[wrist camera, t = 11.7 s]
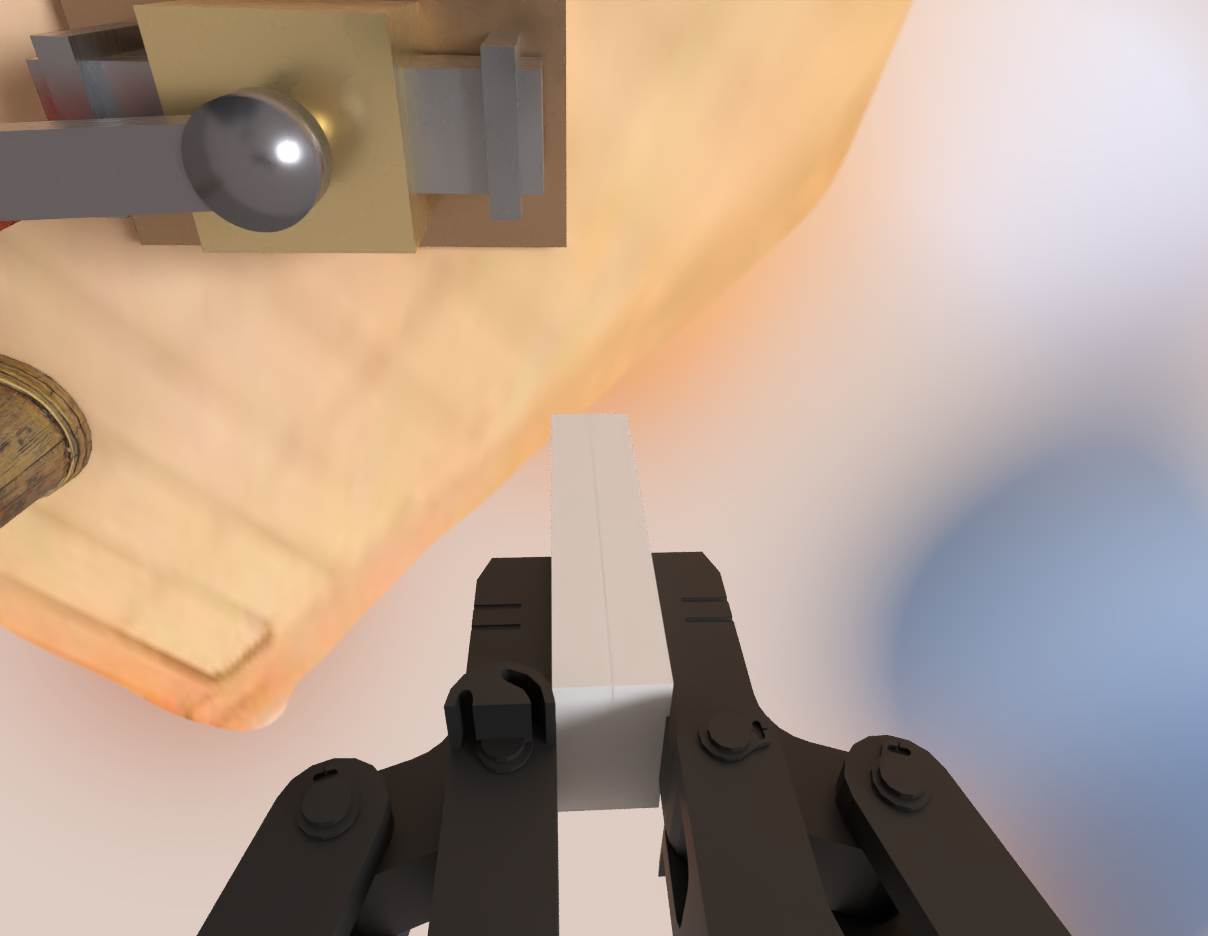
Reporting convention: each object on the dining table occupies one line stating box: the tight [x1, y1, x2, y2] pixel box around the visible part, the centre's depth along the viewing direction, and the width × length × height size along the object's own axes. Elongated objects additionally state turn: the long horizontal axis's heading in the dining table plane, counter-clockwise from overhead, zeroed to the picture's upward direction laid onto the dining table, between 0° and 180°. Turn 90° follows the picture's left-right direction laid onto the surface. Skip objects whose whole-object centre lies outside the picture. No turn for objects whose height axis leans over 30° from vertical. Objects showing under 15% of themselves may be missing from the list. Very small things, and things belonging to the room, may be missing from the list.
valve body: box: [26, 0, 566, 253], centre depth 29 cm, size 12×20×10 cm, turn 88°
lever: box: [0, 87, 333, 232], centre depth 23 cm, size 16×4×2 cm, turn 92°
